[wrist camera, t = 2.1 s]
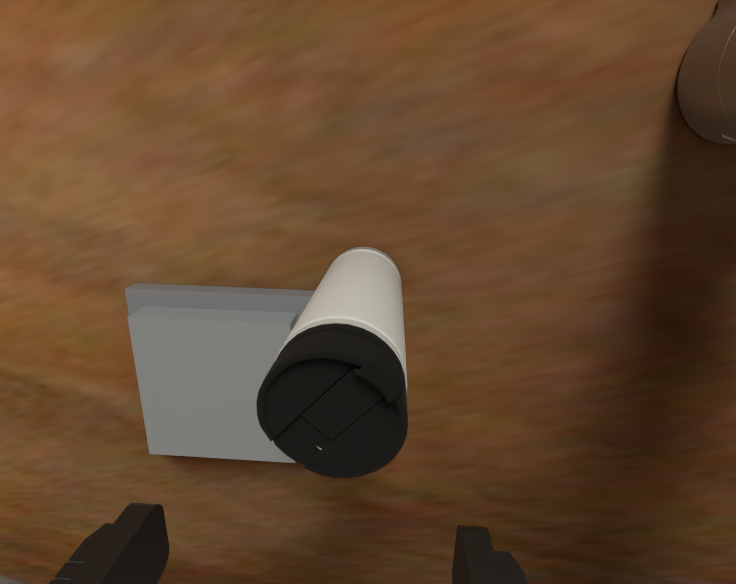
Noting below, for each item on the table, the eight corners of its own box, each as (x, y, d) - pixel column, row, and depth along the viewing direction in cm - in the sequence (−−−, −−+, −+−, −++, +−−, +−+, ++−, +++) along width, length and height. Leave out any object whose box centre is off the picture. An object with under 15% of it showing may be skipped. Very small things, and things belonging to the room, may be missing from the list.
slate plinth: (136, 283, 36) (105, 297, 32) (318, 290, 35) (309, 306, 32) (159, 438, 41) (135, 466, 37) (320, 448, 40) (312, 478, 36)
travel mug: (419, 279, 35) (451, 425, 16) (365, 331, 36) (333, 520, 17) (365, 227, 34) (327, 315, 15) (311, 283, 35) (215, 427, 16)
